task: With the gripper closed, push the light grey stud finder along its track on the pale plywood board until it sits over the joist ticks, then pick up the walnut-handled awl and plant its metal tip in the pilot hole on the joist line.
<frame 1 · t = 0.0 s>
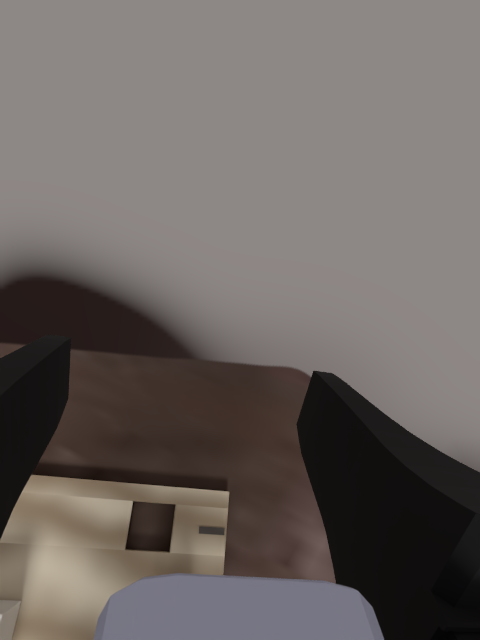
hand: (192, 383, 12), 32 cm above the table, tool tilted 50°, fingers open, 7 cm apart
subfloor: (68, 599, 35), on the table
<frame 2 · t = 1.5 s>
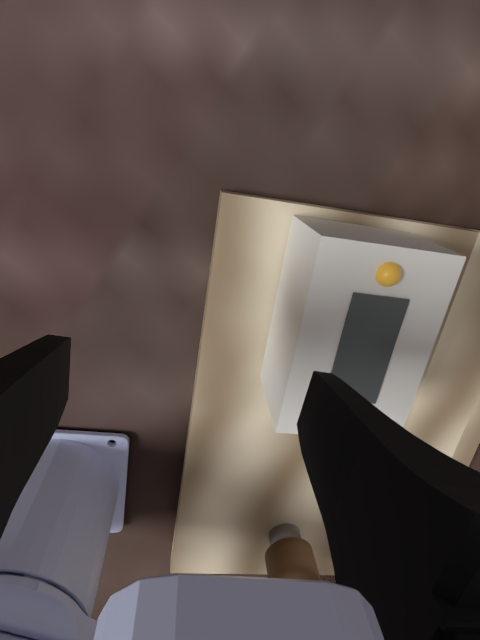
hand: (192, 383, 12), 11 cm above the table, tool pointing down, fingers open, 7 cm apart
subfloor: (337, 419, 27), on the table
stud finder: (346, 329, 20), point 4 cm above the table, slide at 0.0 cm
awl: (284, 534, 29), point 1 cm above the table, touching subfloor
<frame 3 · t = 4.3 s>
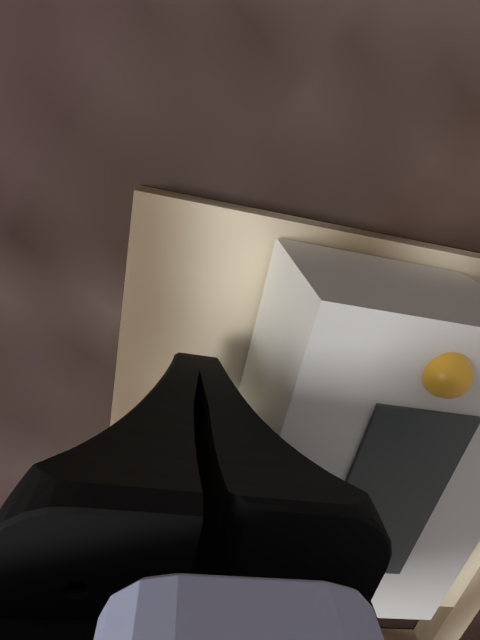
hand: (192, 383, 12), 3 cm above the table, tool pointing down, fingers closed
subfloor: (318, 517, 19), on the table
stud finder: (355, 433, 12), point 4 cm above the table, slide at 0.6 cm, touching gripper
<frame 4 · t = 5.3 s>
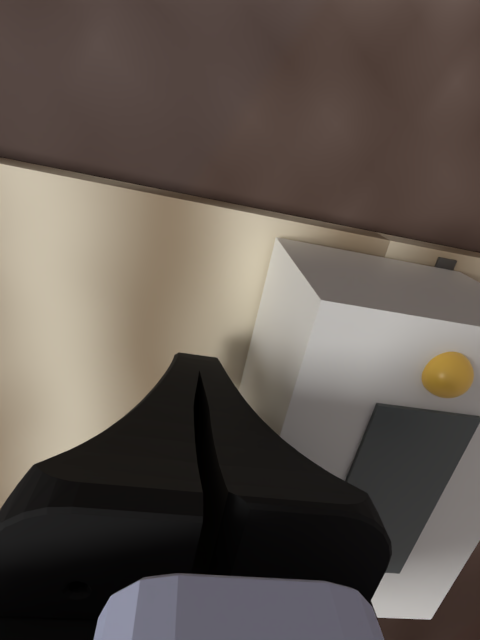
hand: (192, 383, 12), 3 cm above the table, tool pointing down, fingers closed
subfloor: (192, 507, 18), on the table
stud finder: (355, 433, 12), point 4 cm above the table, slide at 6.5 cm, touching gripper
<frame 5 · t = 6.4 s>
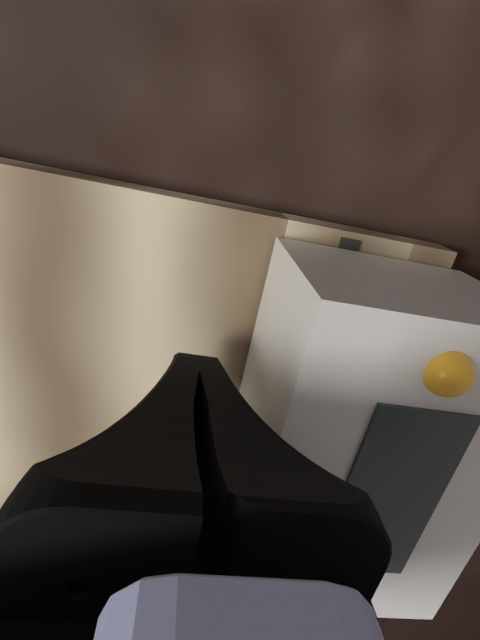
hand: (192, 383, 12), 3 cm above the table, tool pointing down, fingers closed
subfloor: (117, 501, 18), on the table
stud finder: (356, 432, 12), point 4 cm above the table, slide at 9.7 cm, touching gripper
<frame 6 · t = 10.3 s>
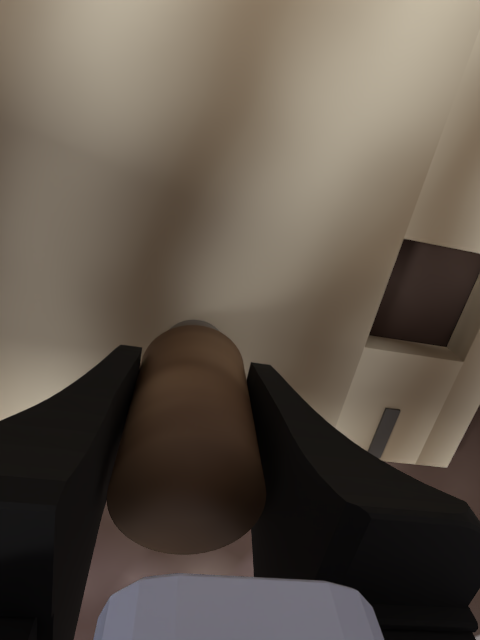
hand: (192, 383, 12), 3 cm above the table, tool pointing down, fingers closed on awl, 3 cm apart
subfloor: (309, 72, 12), on the table
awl: (193, 348, 14), point 1 cm above the table, touching gripper, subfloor
when the fingers open (3 cm above the table, at t = 13.9 s): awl drops 1 cm, resting in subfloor.
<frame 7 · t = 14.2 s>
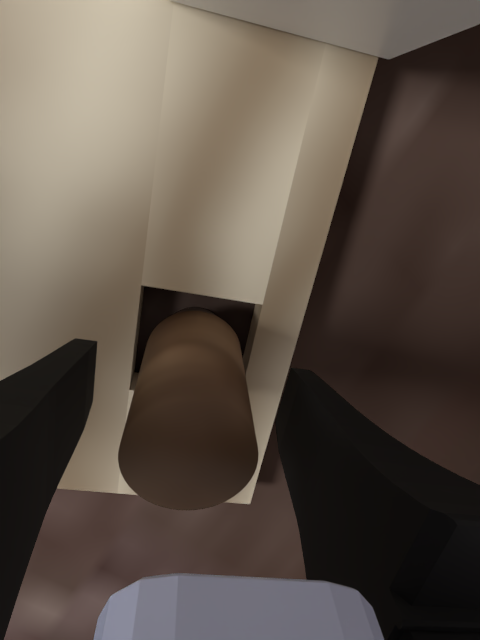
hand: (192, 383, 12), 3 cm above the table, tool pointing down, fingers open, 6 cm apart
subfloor: (22, 121, 12), on the table
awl: (194, 334, 15), resting in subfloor
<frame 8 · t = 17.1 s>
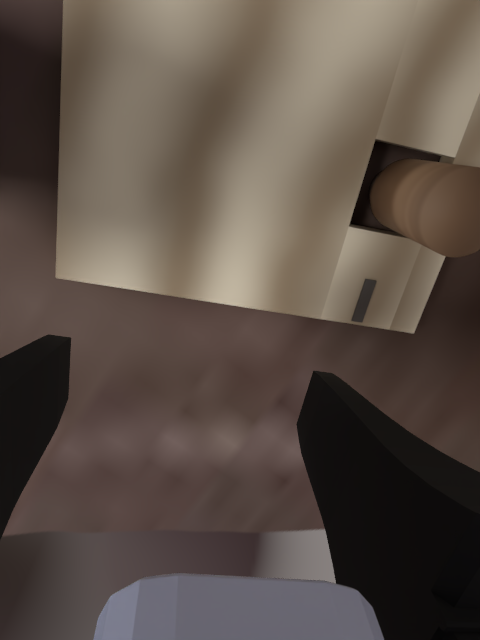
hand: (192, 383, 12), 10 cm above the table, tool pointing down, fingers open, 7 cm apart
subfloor: (308, 16, 17), on the table
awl: (389, 190, 21), resting in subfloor
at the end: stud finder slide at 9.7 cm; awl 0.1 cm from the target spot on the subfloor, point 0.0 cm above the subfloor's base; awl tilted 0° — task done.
